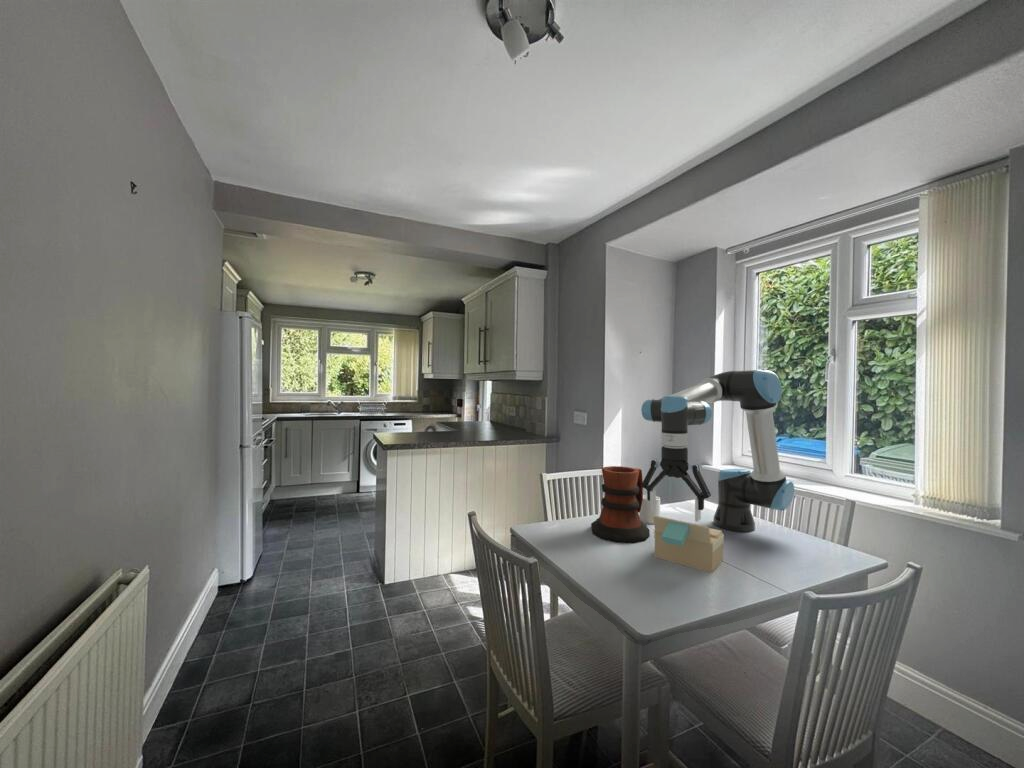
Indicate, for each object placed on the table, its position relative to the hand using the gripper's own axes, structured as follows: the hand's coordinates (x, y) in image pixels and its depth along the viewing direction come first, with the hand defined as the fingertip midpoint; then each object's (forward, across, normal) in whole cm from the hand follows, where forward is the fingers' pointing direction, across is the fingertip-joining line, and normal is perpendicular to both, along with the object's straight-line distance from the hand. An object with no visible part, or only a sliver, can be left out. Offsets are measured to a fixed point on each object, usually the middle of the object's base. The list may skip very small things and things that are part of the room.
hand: (674, 515), depth 129 cm
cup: (+18, -27, +43) cm, 54 cm away
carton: (+18, 0, +13) cm, 22 cm away
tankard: (+18, -28, +22) cm, 40 cm away
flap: (+6, 0, +6) cm, 9 cm away
